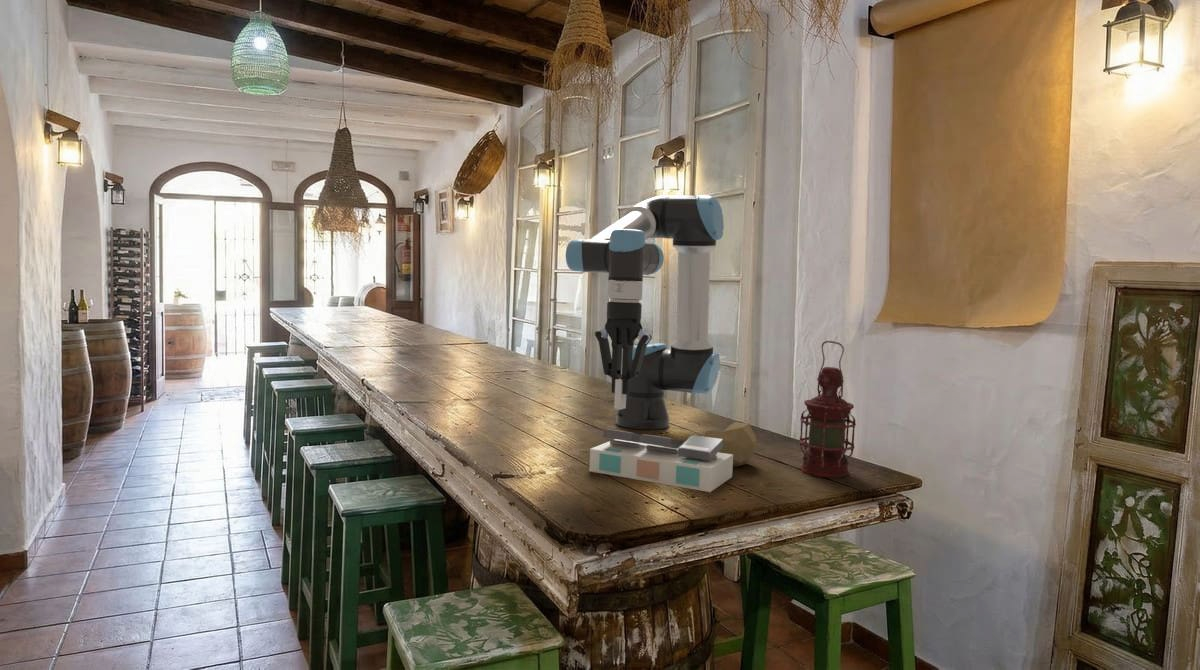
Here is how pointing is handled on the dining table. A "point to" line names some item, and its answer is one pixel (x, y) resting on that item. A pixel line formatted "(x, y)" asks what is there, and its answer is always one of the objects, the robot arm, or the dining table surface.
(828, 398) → the lantern
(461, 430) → the dining table surface
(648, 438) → the rocker middle
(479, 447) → the dining table surface
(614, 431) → the rocker
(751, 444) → the low-poly potato
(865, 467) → the dining table surface
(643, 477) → the console
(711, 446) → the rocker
